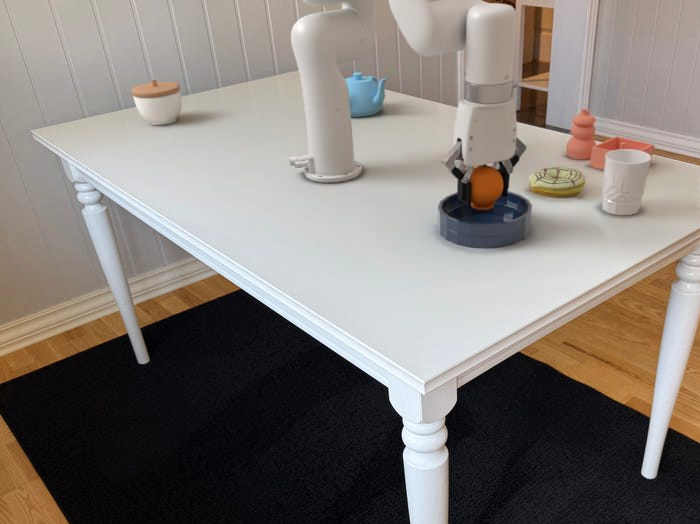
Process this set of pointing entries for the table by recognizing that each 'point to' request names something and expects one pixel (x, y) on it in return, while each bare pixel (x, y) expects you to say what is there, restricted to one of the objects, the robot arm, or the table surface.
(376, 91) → the teapot
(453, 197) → the blue bowl
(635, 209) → the white cup
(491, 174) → the orange
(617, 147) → the pottery
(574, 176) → the decorated donut
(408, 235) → the table surface
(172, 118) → the lidded bowl
